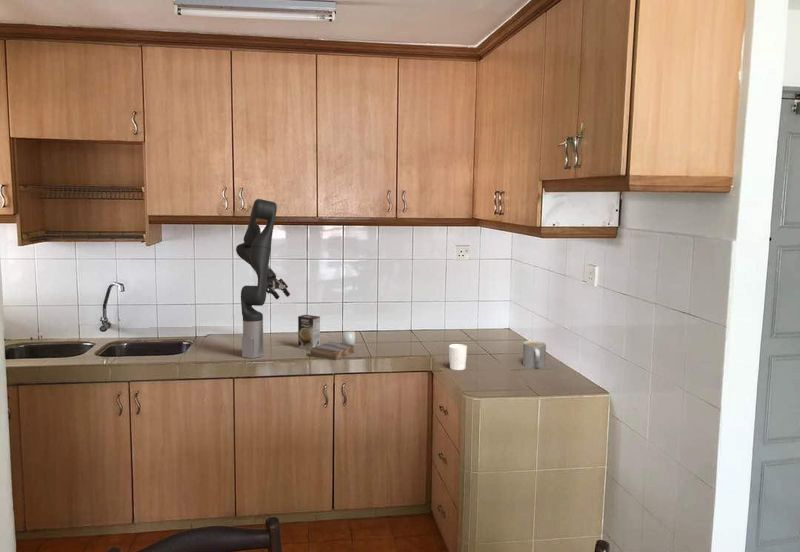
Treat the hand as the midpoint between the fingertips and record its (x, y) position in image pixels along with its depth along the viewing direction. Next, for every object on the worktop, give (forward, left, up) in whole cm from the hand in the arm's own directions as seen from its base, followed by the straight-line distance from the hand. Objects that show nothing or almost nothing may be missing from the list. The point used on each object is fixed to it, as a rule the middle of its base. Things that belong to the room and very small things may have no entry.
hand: (283, 297), depth 324 cm
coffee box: (-1, -16, -24) cm, 29 cm away
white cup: (+1, -94, -24) cm, 97 cm away
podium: (-6, -33, -24) cm, 41 cm away
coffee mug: (+21, -123, -24) cm, 127 cm away
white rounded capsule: (+9, -33, -24) cm, 42 cm away
